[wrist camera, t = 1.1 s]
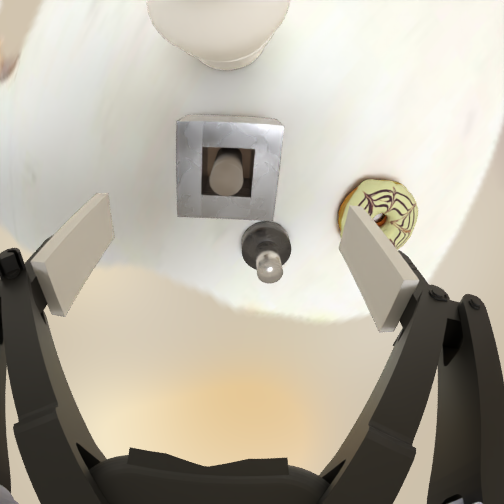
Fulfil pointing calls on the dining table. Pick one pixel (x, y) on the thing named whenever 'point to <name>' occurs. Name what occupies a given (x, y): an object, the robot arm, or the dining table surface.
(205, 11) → the water bottle
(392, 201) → the decorated donut
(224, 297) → the dining table surface
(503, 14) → the dining table surface
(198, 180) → the square steel tube
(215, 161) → the stand
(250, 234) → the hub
